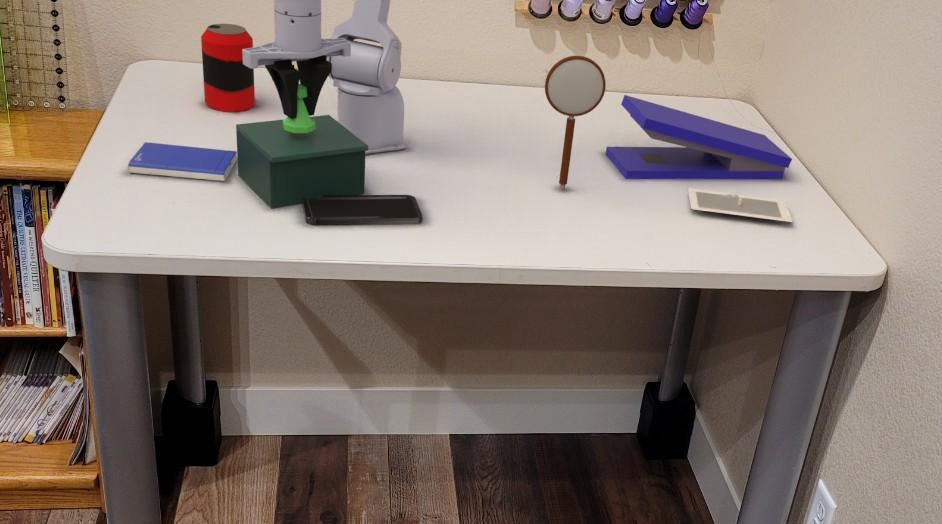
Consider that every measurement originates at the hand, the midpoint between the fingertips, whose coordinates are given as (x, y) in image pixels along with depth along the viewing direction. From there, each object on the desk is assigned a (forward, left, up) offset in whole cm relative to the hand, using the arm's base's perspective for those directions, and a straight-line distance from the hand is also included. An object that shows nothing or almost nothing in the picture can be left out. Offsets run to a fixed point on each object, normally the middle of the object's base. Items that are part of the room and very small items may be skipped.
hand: (299, 114), depth 138 cm
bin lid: (0, 0, -4) cm, 4 cm away
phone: (-4, +10, -11) cm, 16 cm away
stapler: (-62, +14, -11) cm, 64 cm away
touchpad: (-56, +30, -11) cm, 64 cm away
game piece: (0, 0, -2) cm, 2 cm away
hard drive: (+12, -11, -11) cm, 20 cm away
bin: (0, 0, -10) cm, 10 cm away
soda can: (-3, -33, -11) cm, 35 cm away
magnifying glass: (-35, +14, -11) cm, 39 cm away
